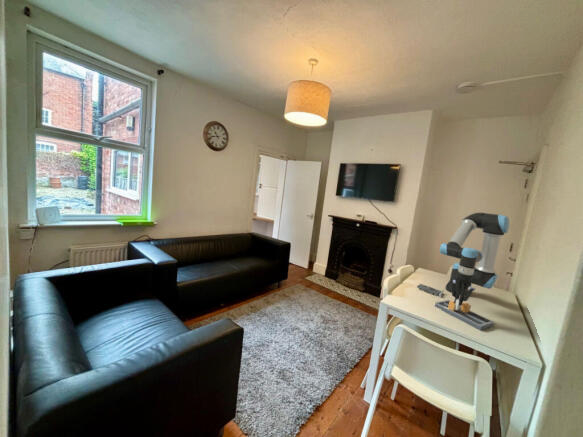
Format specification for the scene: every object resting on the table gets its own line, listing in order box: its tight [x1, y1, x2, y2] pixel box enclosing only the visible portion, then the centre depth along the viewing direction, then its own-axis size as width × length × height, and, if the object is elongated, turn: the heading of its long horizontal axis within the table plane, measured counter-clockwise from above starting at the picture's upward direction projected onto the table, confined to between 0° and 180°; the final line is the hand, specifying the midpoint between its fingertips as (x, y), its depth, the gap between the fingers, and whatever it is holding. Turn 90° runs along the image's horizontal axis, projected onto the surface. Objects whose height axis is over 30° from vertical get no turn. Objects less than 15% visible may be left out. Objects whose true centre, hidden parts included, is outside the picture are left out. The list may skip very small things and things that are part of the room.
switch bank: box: [434, 299, 495, 331], centre depth 142 cm, size 14×26×3 cm, turn 25°
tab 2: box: [460, 302, 472, 313], centre depth 143 cm, size 4×3×5 cm
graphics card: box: [416, 283, 445, 299], centre depth 176 cm, size 17×4×12 cm
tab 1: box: [448, 300, 456, 311], centre depth 143 cm, size 4×3×5 cm
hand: (456, 309), depth 142 cm, fingers closed
